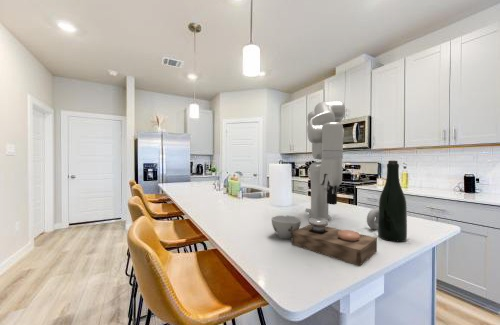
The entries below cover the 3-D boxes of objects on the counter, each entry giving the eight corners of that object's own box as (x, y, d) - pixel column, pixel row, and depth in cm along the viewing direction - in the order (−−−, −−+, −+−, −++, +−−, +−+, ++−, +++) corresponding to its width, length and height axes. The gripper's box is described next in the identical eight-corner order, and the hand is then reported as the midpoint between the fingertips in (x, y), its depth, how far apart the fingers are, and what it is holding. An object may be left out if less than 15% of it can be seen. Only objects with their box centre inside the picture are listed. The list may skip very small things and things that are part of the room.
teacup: (306, 239, 97) (306, 220, 96) (280, 243, 92) (280, 223, 92) (288, 229, 111) (288, 212, 111) (264, 232, 106) (264, 214, 106)
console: (291, 244, 92) (291, 231, 91) (312, 234, 103) (312, 223, 103) (360, 265, 73) (360, 250, 73) (376, 251, 84) (376, 237, 84)
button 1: (305, 233, 92) (305, 219, 92) (314, 229, 97) (314, 216, 97) (322, 238, 87) (322, 223, 87) (331, 233, 92) (331, 219, 92)
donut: (371, 231, 107) (371, 210, 106) (364, 229, 110) (365, 208, 110) (385, 228, 111) (385, 208, 111) (378, 226, 114) (378, 206, 114)
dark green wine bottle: (405, 236, 100) (406, 160, 100) (407, 244, 91) (408, 160, 91) (378, 232, 106) (379, 160, 105) (377, 239, 97) (378, 160, 96)
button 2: (334, 248, 84) (334, 232, 84) (342, 242, 89) (343, 228, 89) (354, 253, 79) (354, 237, 78) (362, 248, 84) (362, 232, 84)
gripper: (331, 155, 95) (330, 199, 96) (313, 155, 85) (313, 205, 85) (349, 155, 90) (349, 202, 91) (333, 155, 80) (332, 208, 80)
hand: (331, 203), depth 88 cm, fingers closed
